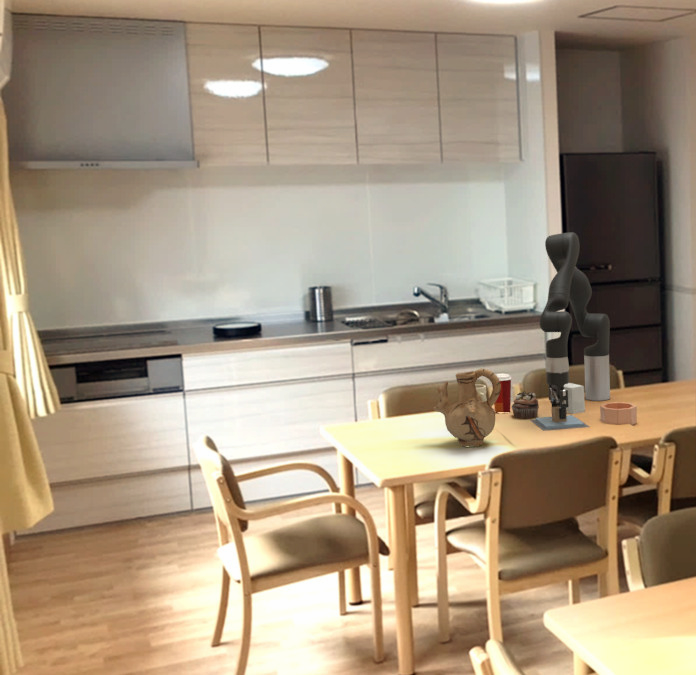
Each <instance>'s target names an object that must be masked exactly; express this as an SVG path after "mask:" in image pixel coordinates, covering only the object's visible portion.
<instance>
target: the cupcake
mask: <svg viewBox="0 0 696 675" xmlns="http://www.w3.org/2000/svg"><path fill="white" fill-rule="evenodd" d="M539 408H540V407H539V399H537V397H536V393H535V392H533V391H532V392H526V391H522V392H519V393H517V394H516V395H515V398H514V400H513V403H512V405H511V410H512V412H513V413H512V414H513V418H515V419H520V420H533V419H535V418H538V412H539Z"/></svg>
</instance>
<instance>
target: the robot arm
mask: <svg viewBox="0 0 696 675" xmlns="http://www.w3.org/2000/svg"><path fill="white" fill-rule="evenodd" d="M544 243H545V244H544V245H545V251H546V254H547V257H548V258H549V260H550V262H551V264H552V265H553V267H554V269H555V271H556V274H555V275H554V276H553V278H552V280H551V281H550V283H549V287H548V295H547V301H546V304H545V306H544V308H543V310H542V312H541V315H540V318H539V327H540V329H541V331H542V332H544V333H560V335H559V337H556V338H551V339H548V340H547V341H546V343H545V353H546V355H545V356H546V360H545V377H546V378H545V379H546V384H547V385H548V400H549V402H550V404H551V407H558V406H559V419H566V408H567V407H568V406H569V405H568V390H565V389H564V385H565V384H568V383H570V375H569V374H570V370H569V368H570V367H569V366H570V364H569V358H568V356H569V355H568V341H569V335H570V332H571V328H572V324H573V318H572V315H571V313H569V312H568V311H563V310H565V309H567V308H568V306H569V303H570V306H571V308H572V311H573V314H574V318H575V320H576V324H577V327H578V328H577V329H578V331H579V333H580V334H581V336H582V337H585V338H594V339H595V338H597V340H596V342H595V343H594V344H592V345H588V346H586V347H584V349H583V356H584V357H583V358H584V360H583V362H584V399H585V400H587V401H594V402H595V401H606V400H610V399H611V390H610V389H611V387H610V386H611V384H610V383H611V382H610V378H611V376H610V336H611V335H610V333H611V332H610V331H611V330H610V329H611V326H610V325H611V322H610V318H609V316H608V314H606V313H589V312H588V311H587V306H588V304H589V303H590V302H589V301H590V300H591V297H592V293H593V290H592V286H591V283H590V282H589V279H588V277H587V275H586V274H585V273H584V272H582V270H580V269H579V268H577V267H576V266H577V263H578V258H579V255H580V249H581V248H580V247H581V246H580V239H579V236H578V235H577V234H576V233H575V232H573V231H572V232H570V231H569V232H563V233H556V234H551V235H548V236H547V237H546V239H545V242H544ZM562 402H563V403H564V404H563V403H562Z"/></svg>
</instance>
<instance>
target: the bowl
mask: <svg viewBox="0 0 696 675" xmlns="http://www.w3.org/2000/svg"><path fill="white" fill-rule="evenodd" d="M599 409H600V411H599V413H600V416H599V417H600V418H599V419H600V421H601V422H603V423H604V424H610V425H627V424H629V425H630V426H635V425H636V424H637V422H638V420H637V419H638V415H637V413H638V412H637V405H636V404H633V403H632V402H620V401H619V402H618V401H617V402H606V403H603V404H601V405H599ZM634 424H635V425H634Z"/></svg>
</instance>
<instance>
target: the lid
mask: <svg viewBox="0 0 696 675" xmlns="http://www.w3.org/2000/svg"><path fill="white" fill-rule="evenodd" d="M567 413H568V412H566V419H559V406H558V407H552V406H551V416H543V417H536V418H534V420H535V421H536V422H538V423H539V424H540V425H542V426H543V427H544V428H545V429H556V428H569V427H581V426H584V423H585V422H584V421H582V420H581V419H579V418H578V417H576V416H575V415H573V414H569V415H568V414H567ZM575 417H576V418H575ZM577 418H578V419H579V420H578V419H577ZM580 420H581V421H582V422H581V421H580ZM583 422H584V423H583Z"/></svg>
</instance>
